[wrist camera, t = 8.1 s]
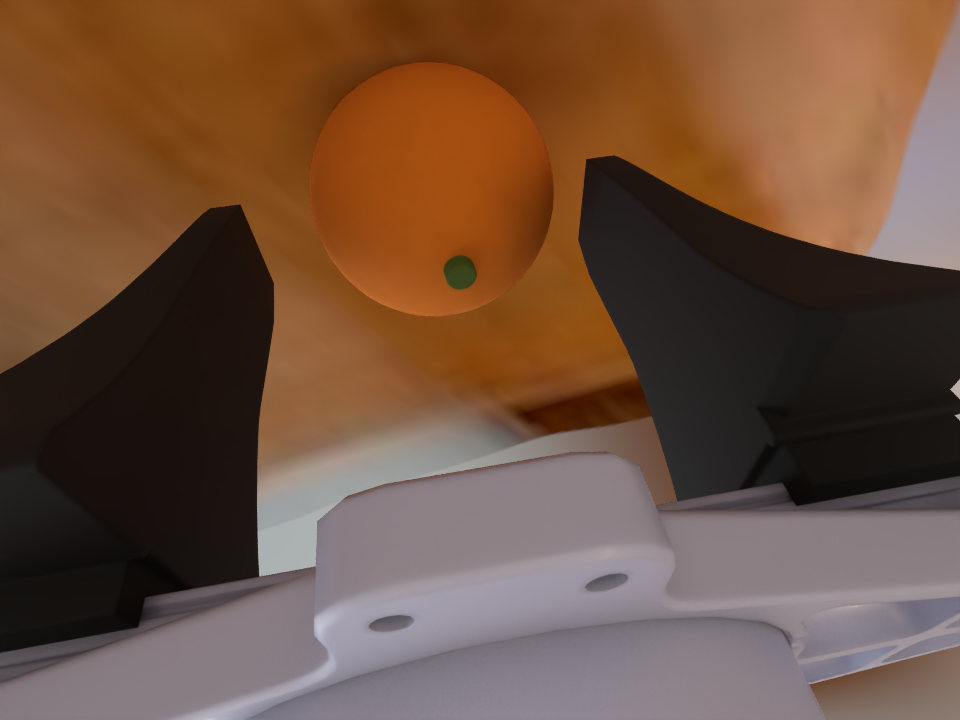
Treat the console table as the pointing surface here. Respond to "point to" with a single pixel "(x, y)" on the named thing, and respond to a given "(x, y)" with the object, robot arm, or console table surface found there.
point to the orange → (431, 189)
